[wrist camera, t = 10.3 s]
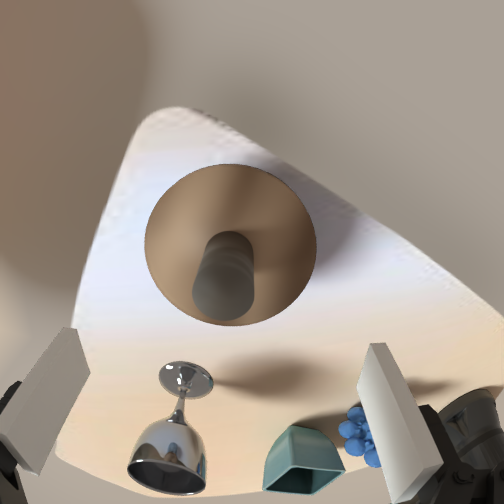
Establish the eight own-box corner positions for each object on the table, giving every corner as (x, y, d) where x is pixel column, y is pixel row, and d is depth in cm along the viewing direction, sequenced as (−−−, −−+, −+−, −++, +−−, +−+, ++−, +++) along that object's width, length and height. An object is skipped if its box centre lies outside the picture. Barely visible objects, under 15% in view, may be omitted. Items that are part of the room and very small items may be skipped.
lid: (323, 171, 23) (353, 192, 16) (301, 321, 28) (314, 378, 21) (147, 161, 22) (108, 177, 16) (153, 311, 27) (130, 365, 21)
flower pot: (336, 424, 43) (347, 471, 34) (306, 452, 46) (313, 496, 37) (286, 413, 41) (292, 465, 33) (259, 443, 44) (260, 490, 36)
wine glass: (144, 367, 38) (111, 463, 24) (196, 351, 36) (175, 457, 23) (176, 405, 40) (158, 496, 27) (227, 393, 39) (220, 492, 25)
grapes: (412, 374, 39) (444, 436, 28) (404, 403, 42) (430, 462, 30) (334, 391, 40) (352, 464, 28) (333, 420, 42) (348, 486, 31)
